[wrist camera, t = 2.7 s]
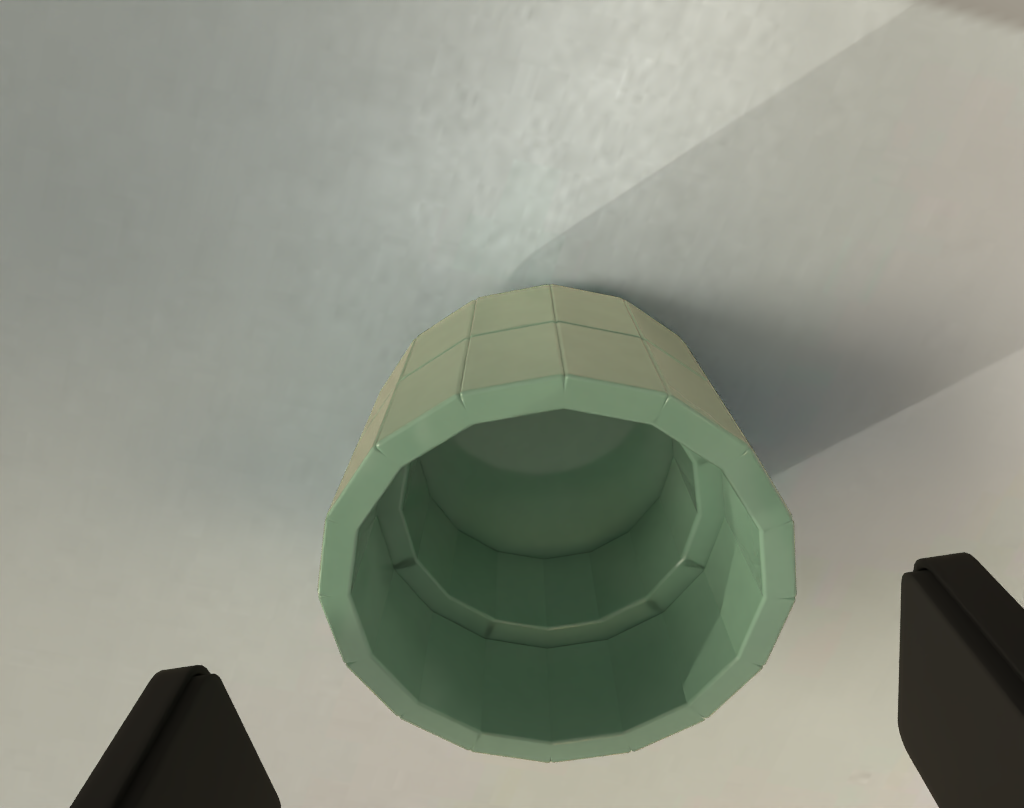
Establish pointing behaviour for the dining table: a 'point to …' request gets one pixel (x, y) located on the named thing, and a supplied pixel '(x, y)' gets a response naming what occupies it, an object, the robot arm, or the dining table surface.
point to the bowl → (554, 534)
